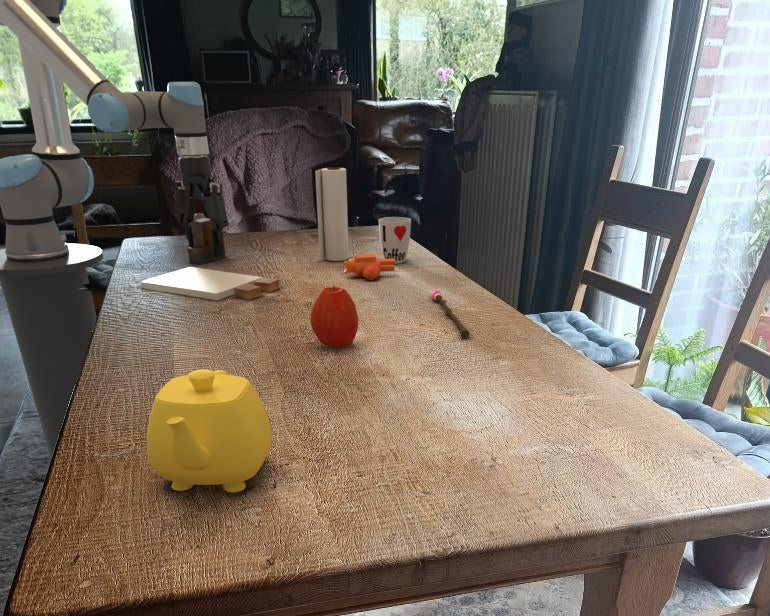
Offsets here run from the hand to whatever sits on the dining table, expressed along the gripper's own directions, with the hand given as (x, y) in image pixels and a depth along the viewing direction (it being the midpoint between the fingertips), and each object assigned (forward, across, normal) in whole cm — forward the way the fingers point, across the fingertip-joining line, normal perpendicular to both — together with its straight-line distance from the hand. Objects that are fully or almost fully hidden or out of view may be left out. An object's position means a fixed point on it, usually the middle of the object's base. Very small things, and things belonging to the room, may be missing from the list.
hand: (206, 254), depth 183 cm
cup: (+2, +44, +21) cm, 49 cm away
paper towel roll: (+2, +29, +16) cm, 33 cm away
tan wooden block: (+1, +32, -17) cm, 36 cm away
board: (+1, +17, -21) cm, 27 cm away
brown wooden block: (+1, +32, -23) cm, 40 cm away
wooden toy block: (+1, 0, 0) cm, 1 cm away
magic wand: (+2, +76, -16) cm, 77 cm away
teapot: (+2, +79, -90) cm, 120 cm away
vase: (+2, -11, +11) cm, 16 cm away
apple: (+2, +66, -42) cm, 78 cm away
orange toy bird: (+2, +47, +3) cm, 47 cm away
